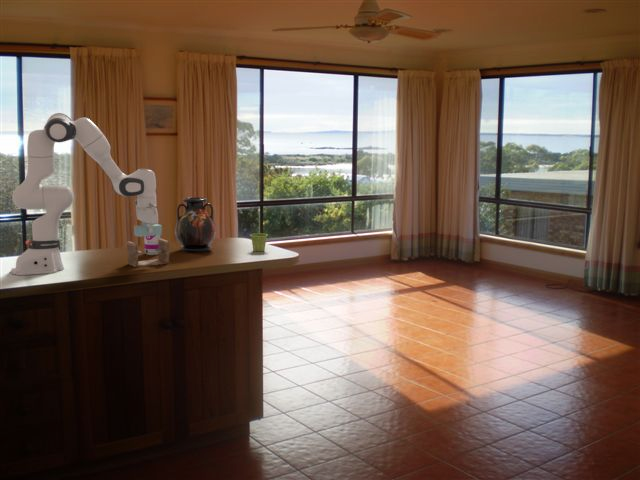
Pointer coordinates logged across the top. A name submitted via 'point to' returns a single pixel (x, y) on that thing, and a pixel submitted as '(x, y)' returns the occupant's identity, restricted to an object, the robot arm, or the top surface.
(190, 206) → the amphora vase
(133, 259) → the peg frame
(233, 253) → the top surface
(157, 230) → the light blue block
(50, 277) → the top surface
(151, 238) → the supplement can
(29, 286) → the top surface
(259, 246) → the plant pot
